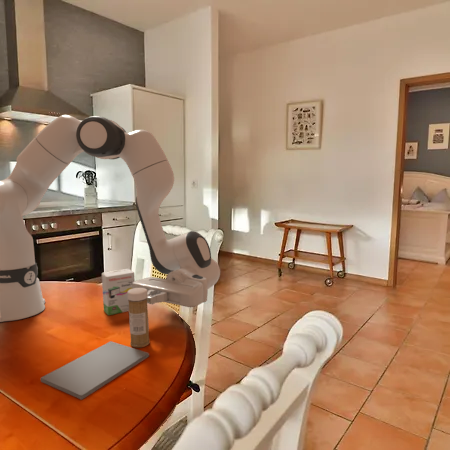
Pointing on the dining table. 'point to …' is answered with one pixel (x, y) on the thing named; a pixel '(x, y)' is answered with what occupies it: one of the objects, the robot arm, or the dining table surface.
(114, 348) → the cutting board
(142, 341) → the sprinkles bottle
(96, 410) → the dining table surface
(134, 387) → the dining table surface
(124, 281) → the ink box
